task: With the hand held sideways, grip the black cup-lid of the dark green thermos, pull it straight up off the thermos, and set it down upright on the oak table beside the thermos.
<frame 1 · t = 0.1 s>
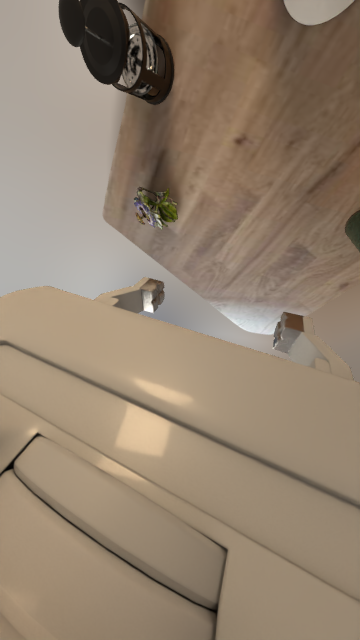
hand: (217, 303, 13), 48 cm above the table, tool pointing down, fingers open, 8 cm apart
passion flower: (161, 204, 57), on the table
french press: (152, 70, 41), on the table
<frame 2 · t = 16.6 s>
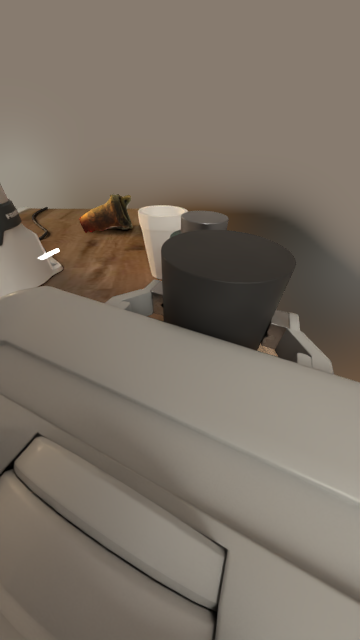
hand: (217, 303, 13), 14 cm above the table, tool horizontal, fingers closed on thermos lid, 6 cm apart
foam cup: (164, 273, 45), on the table
pot: (116, 229, 68), on the table
thermos: (192, 336, 30), on the table
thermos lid: (205, 358, 16), point 9 cm above the table, touching gripper
when the fingers open (5 cm above the table, at t = 19.2 s): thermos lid stays where it is, on the table.
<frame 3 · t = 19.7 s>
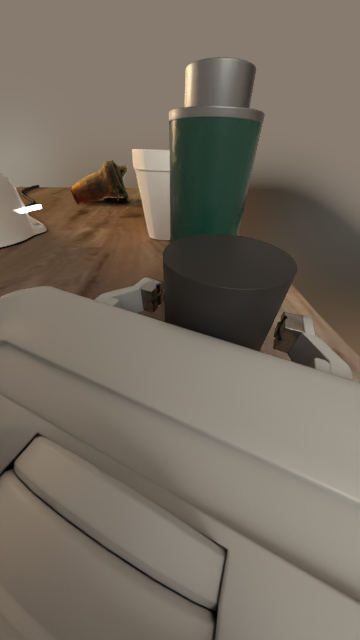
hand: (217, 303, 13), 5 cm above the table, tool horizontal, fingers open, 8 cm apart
foam cup: (164, 235, 39), on the table
pot: (112, 202, 63), on the table
thermos: (197, 289, 24), on the table
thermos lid: (206, 360, 16), on the table
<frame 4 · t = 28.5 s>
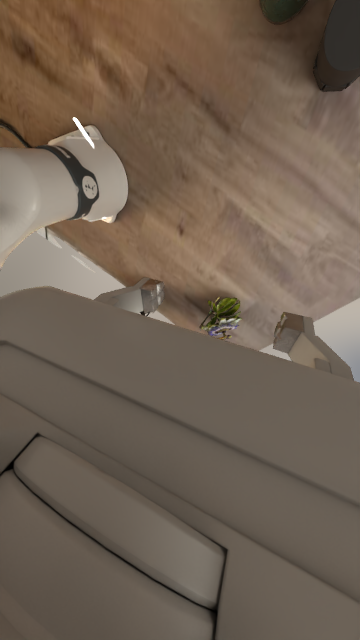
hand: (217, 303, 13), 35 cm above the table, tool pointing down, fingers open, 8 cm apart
passion flower: (223, 310, 56), on the table
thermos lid: (346, 51, 24), on the table
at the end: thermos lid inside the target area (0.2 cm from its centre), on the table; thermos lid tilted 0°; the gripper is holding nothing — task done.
